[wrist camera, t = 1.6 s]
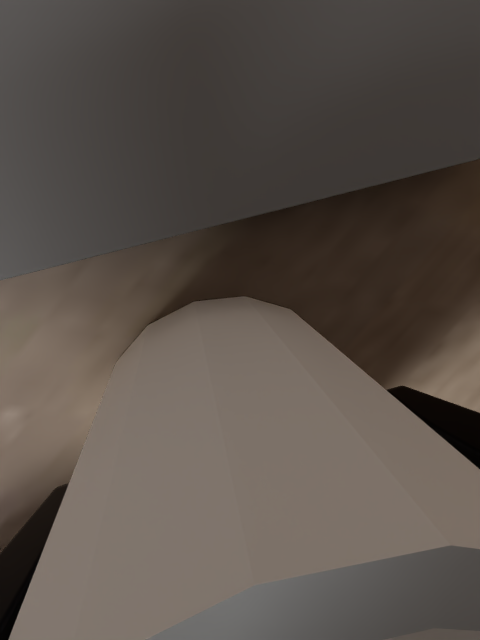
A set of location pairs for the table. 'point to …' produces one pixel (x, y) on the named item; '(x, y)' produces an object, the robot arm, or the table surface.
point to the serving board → (217, 112)
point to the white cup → (257, 498)
